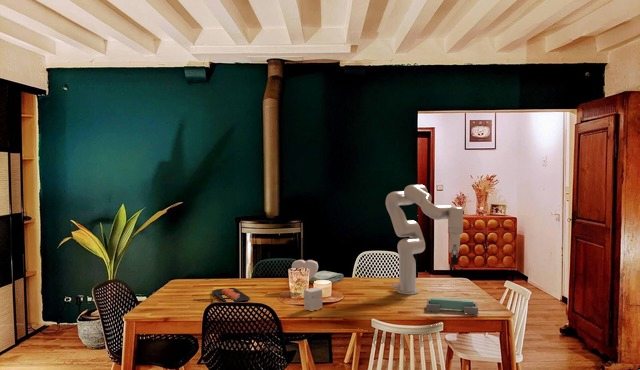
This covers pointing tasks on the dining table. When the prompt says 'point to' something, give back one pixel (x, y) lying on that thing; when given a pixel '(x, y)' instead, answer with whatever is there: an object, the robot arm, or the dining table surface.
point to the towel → (327, 276)
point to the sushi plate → (229, 295)
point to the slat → (451, 303)
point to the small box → (313, 299)
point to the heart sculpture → (307, 266)
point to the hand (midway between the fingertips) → (454, 262)
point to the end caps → (466, 308)
